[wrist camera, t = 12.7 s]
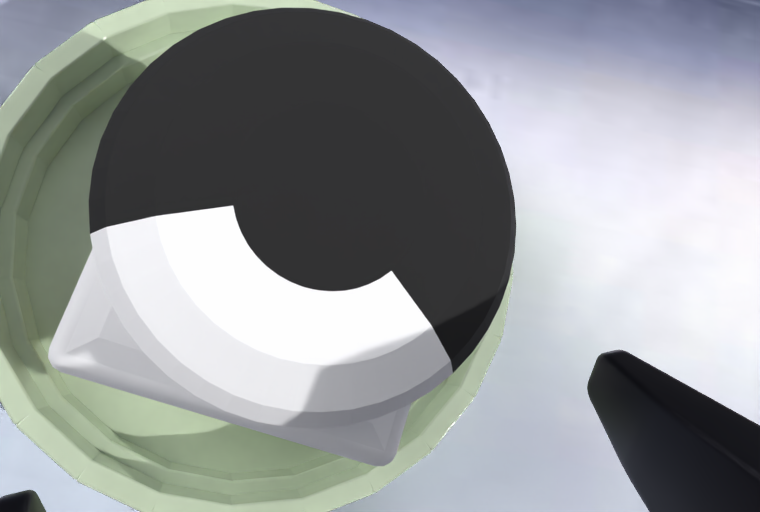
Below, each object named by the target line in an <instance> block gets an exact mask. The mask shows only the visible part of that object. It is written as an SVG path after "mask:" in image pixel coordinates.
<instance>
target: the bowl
mask: <svg viewBox="0 0 760 512" xmlns="http://www.w3.org/2000/svg"><path fill="white" fill-rule="evenodd" d="M274 8H314V9H321V10H328V11H335V12H340V13H344V14H348V15H351V16H355V17H358V18H360V17H359V16H356V15H353V14H351V13H348V12H345V11H343V10H340V9H337V8H334V7H332V6H329V5H326V4H323V3H321V2H318V1H315V0H146V1H143V2H141V3H138V4H135V5H133V6H130V7H128V8H125V9H123V10H120V11H117V12H115V13H112V14H110V15H107V16H105V17H102V18H99V19H97V20H95V21H94V22H91V23H89V24H88V25H87V26H85V27H84V28H83V29H81V30H80V31H79V32H77V33H76V34H75V35H73V36H72V37H70V38H69V39H68V40H66V41H65V42H64V43H62V44H61V45H60V46H58V47H57V48H56V49H54V50H53V51H51V52H50V53H49V54H47V55H46V56H45V57H43V58H42V59H41V60H39V61H38V62H37V63H35V66H32V67H31V69H30V70H29V71H28V72H27V74H26V75H25V76H24V78H23V79H22V80H21V81H20V83H19V84H18V85H17V87H16V88H15V89H14V90H13V92H12V93H11V94H10V96H9V97H8V98H7V100H6V101H5V102H4V103H3V105H2V106H1V107H0V402H1V404H2V405H3V407H4V409H5V410H6V412H7V414H8V415H9V417H10V419H11V420H12V422H13V423H14V424H15V425H16V424H17V425H16V427H17V428H18V429H19V430H20V431H21V432H22V433H23V434H24V435H25V436H27V437H28V438H29V439H30V440H31V441H32V442H33V443H34V444H35V445H37V446H38V447H39V448H40V449H41V450H42V451H43V452H44V453H45V454H47V455H48V456H49V457H50V458H51V459H52V460H53V461H54V462H55V463H57V464H58V465H59V466H60V467H61V468H62V469H63V470H64V471H65V472H67V473H68V474H69V475H70V476H71V477H72V478H73V479H75V480H76V479H77V481H78V482H79V483H81V484H83V485H85V486H87V487H89V488H91V489H93V490H96V491H98V492H100V493H102V494H104V495H106V496H108V497H110V498H112V499H114V500H117V501H119V502H121V503H123V504H125V505H127V506H129V507H131V508H133V509H135V510H138V511H140V512H329V511H332V510H334V509H337V508H339V507H342V506H344V505H347V504H350V503H352V502H355V501H357V500H360V499H362V498H365V497H367V496H370V495H372V494H373V493H376V492H378V491H379V490H381V489H382V488H383V487H385V486H386V485H387V484H389V483H390V482H391V481H393V480H394V479H396V478H397V477H398V476H400V475H401V474H402V473H404V472H405V471H406V470H408V469H409V468H410V467H412V466H413V465H415V464H416V463H417V462H419V461H420V460H421V459H423V458H424V457H425V456H427V455H428V454H429V453H431V450H433V449H434V448H435V447H436V446H437V444H438V443H439V442H440V441H441V439H442V438H443V437H444V436H445V435H446V433H447V432H448V431H449V430H450V428H451V427H452V426H453V425H454V423H455V422H456V421H457V420H458V418H459V417H460V416H461V415H462V414H463V412H464V411H465V410H466V409H467V407H468V406H469V405H470V404H471V402H472V401H473V399H474V397H475V396H476V394H477V392H478V390H479V388H480V386H481V383H482V381H483V379H484V377H485V375H486V372H487V370H488V368H489V366H490V364H491V361H492V359H493V357H494V355H495V353H496V350H497V348H498V346H499V344H500V342H501V338H502V335H503V330H504V324H505V319H506V313H507V308H508V302H509V297H510V291H511V286H512V280H513V276H512V275H513V263H512V268H511V273H510V278H509V282H508V284H507V287H506V290H505V293H504V296H503V299H502V302H501V305H500V307H499V309H498V311H497V313H496V315H495V317H494V319H493V321H492V323H491V325H490V327H489V329H488V331H487V332H486V333H485V335H484V336H483V338H482V339H481V341H480V342H479V344H478V345H477V346H476V348H475V349H474V351H473V352H472V353H471V354H470V356H469V357H468V358H467V359H466V360H465V361H464V362H463V363H462V364H461V365H460V366H459V367H458V369H457V370H456V371H455V372H454V373H453V374H452V375H450V376H449V377H448V378H447V379H445V380H444V381H443V382H442V383H441V384H439V385H438V386H437V387H436V388H434V389H433V390H432V391H431V392H429V393H427V394H426V395H424V396H422V397H421V398H419V399H417V400H416V401H414V402H412V403H411V406H410V409H409V413H408V416H407V419H406V423H405V426H404V430H403V433H402V436H401V440H400V443H399V447H398V450H397V453H396V455H395V457H394V459H393V461H392V462H390V463H388V464H387V465H385V466H372V465H369V464H366V463H362V462H359V461H356V460H352V459H349V458H346V457H342V456H339V455H336V454H332V453H329V452H326V451H322V450H319V449H316V448H312V447H309V446H306V445H302V444H299V443H296V442H292V441H289V440H286V439H282V438H279V437H275V436H272V435H269V434H265V433H262V432H259V431H255V430H252V429H249V428H245V427H242V426H239V425H235V424H232V423H229V422H225V421H222V420H219V419H215V418H212V417H209V416H205V415H202V414H199V413H195V412H192V411H189V410H185V409H182V408H179V407H175V406H172V405H169V404H165V403H162V402H159V401H155V400H152V399H149V398H145V397H142V396H139V395H135V394H132V393H129V392H125V391H122V390H119V389H115V388H112V387H109V386H105V385H102V384H99V383H95V382H92V381H89V380H85V379H82V378H79V377H75V376H72V375H69V374H65V373H62V372H60V371H58V370H57V369H55V368H54V367H52V365H51V363H50V361H49V359H48V353H49V347H50V344H51V342H52V340H53V338H54V335H55V333H56V331H57V328H58V326H59V324H60V322H61V319H62V317H63V315H64V312H65V310H66V308H67V306H68V303H69V301H70V299H71V296H72V294H73V292H74V290H75V287H76V285H77V283H78V280H79V278H80V276H81V274H82V271H83V269H84V267H85V264H86V262H87V260H88V258H89V255H90V253H91V251H92V248H93V247H92V242H91V237H90V225H89V193H90V185H91V176H92V169H93V165H94V162H95V158H96V154H97V151H98V147H99V144H100V140H101V138H102V135H103V133H104V131H105V129H106V127H107V124H108V122H109V120H110V118H111V116H112V113H113V111H114V110H115V108H116V107H117V105H118V104H119V102H120V101H121V99H122V98H123V96H124V95H125V93H126V92H127V90H128V88H129V87H130V86H131V84H132V83H133V82H134V81H135V80H136V79H137V78H138V77H139V76H140V74H141V73H142V72H143V71H144V70H145V69H146V68H147V67H148V66H149V65H150V63H152V62H153V61H154V60H155V59H157V58H158V57H159V56H160V55H161V54H163V53H164V52H165V51H166V50H168V49H169V48H170V47H171V46H172V45H174V44H175V43H177V42H179V41H180V40H182V39H184V38H185V37H187V36H189V35H190V34H192V33H194V32H195V31H197V30H199V29H201V28H204V27H206V26H208V25H211V24H213V23H216V22H218V21H220V20H223V19H225V18H229V17H232V16H236V15H240V14H244V13H248V12H252V11H257V10H266V9H274ZM362 19H363V18H362Z"/></svg>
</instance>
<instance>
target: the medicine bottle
mask: <svg viewBox="0 0 760 512" xmlns="http://www.w3.org/2000/svg"><path fill="white" fill-rule="evenodd" d="M89 225H90V237H91V242H92V247H93V248H92V251H91V253H90V255H89V258H88V260H87V262H86V264H85V267H84V269H83V271H82V274H81V276H80V278H79V280H78V283H77V285H76V287H75V290H74V292H73V294H72V296H71V299H70V301H69V303H68V306H67V308H66V310H65V312H64V315H63V317H62V319H61V322H60V324H59V326H58V328H57V331H56V333H55V335H54V338H53V340H52V342H51V344H50V347H49V353H48V359H49V361H50V363H51V365H52V367H54V368H55V369H57V370H58V371H60V372H62V373H65V374H69V375H72V376H75V377H79V378H82V379H85V380H89V381H92V382H95V383H99V384H102V385H105V386H109V387H112V388H115V389H119V390H122V391H125V392H129V393H132V394H135V395H139V396H142V397H145V398H149V399H152V400H155V401H159V402H162V403H165V404H169V405H172V406H175V407H179V408H182V409H185V410H189V411H192V412H195V413H199V414H202V415H205V416H209V417H212V418H215V419H219V420H222V421H225V422H229V423H232V424H235V425H239V426H242V427H245V428H249V429H252V430H255V431H259V432H262V433H265V434H269V435H272V436H275V437H279V438H282V439H286V440H289V441H292V442H296V443H299V444H302V445H306V446H309V447H312V448H316V449H319V450H322V451H326V452H329V453H332V454H336V455H339V456H342V457H346V458H349V459H352V460H356V461H359V462H362V463H366V464H369V465H372V466H385V465H387V464H388V463H390V462H392V461H393V459H394V457H395V455H396V453H397V450H398V447H399V443H400V440H401V436H402V433H403V430H404V426H405V423H406V419H407V416H408V413H409V409H410V406H411V403H412V402H414V401H416V400H417V399H419V398H421V397H422V396H424V395H426V394H427V393H429V392H431V391H432V390H433V389H434V388H436V387H437V386H438V385H439V384H441V383H442V382H443V381H444V380H445V379H447V378H448V377H449V376H450V375H452V374H453V373H454V372H455V371H456V370H457V369H458V367H459V366H460V365H461V364H462V363H463V362H464V361H465V360H466V359H467V358H468V357H469V356H470V354H471V353H472V352H473V351H474V349H475V348H476V346H477V345H478V344H479V342H480V341H481V339H482V338H483V336H484V335H485V333H486V332H487V331H488V329H489V327H490V325H491V323H492V321H493V319H494V317H495V315H496V313H497V311H498V309H499V307H500V305H501V302H502V299H503V296H504V293H505V290H506V287H507V284H508V282H509V278H510V273H511V268H512V263H513V258H514V251H515V236H516V218H515V202H514V195H513V190H512V185H511V180H510V175H509V171H508V168H507V165H506V162H505V159H504V156H503V153H502V150H501V147H500V145H499V143H498V141H497V139H496V137H495V135H494V132H493V130H492V128H491V126H490V124H489V122H488V121H487V119H486V118H485V116H484V114H483V113H482V111H481V110H480V108H479V107H478V105H477V103H476V102H475V100H474V99H473V98H472V97H471V95H470V94H469V93H468V92H467V91H466V89H465V88H464V87H463V86H462V84H461V83H460V82H459V81H458V80H457V79H456V78H455V77H454V76H453V75H452V74H451V73H450V72H449V71H448V70H447V69H446V68H445V67H444V66H443V65H442V64H441V63H440V62H439V61H438V60H436V59H435V58H434V57H432V56H431V55H430V54H428V53H427V52H426V51H424V50H423V49H422V48H420V47H419V46H418V45H416V44H415V43H413V42H411V41H409V40H408V39H406V38H404V37H402V36H401V35H399V34H397V33H395V32H394V31H392V30H390V29H387V28H385V27H382V26H380V25H378V24H375V23H373V22H370V21H368V20H366V19H362V18H358V17H355V16H351V15H348V14H344V13H340V12H335V11H328V10H321V9H314V8H274V9H266V10H257V11H252V12H248V13H244V14H240V15H236V16H232V17H229V18H225V19H223V20H220V21H218V22H216V23H213V24H211V25H208V26H206V27H204V28H201V29H199V30H197V31H195V32H194V33H192V34H190V35H189V36H187V37H185V38H184V39H182V40H180V41H179V42H177V43H175V44H174V45H172V46H171V47H170V48H169V49H168V50H166V51H165V52H164V53H163V54H161V55H160V56H159V57H158V58H157V59H155V60H154V61H153V62H152V63H150V65H149V66H148V67H147V68H146V69H145V70H144V71H143V72H142V73H141V74H140V76H139V77H138V78H137V79H136V80H135V81H134V82H133V83H132V84H131V86H130V87H129V88H128V90H127V92H126V93H125V95H124V96H123V98H122V99H121V101H120V102H119V104H118V105H117V107H116V108H115V110H114V111H113V113H112V116H111V118H110V120H109V122H108V124H107V127H106V129H105V131H104V133H103V135H102V138H101V140H100V144H99V147H98V151H97V154H96V158H95V162H94V165H93V169H92V176H91V185H90V193H89Z"/></svg>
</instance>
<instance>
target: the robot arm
mask: <svg viewBox="0 0 760 512" xmlns="http://www.w3.org/2000/svg"><path fill="white" fill-rule="evenodd" d="M587 389H588V394H589V398H590V400H591V402H592V404H593V406H594V408H595V410H596V412H597V414H598V416H599V418H600V421H601V423H602V425H603V427H604V429H605V431H606V433H607V435H608V437H609V439H610V441H611V443H612V445H613V447H614V449H615V451H616V454H617V456H618V458H619V460H620V462H621V464H622V466H623V467H624V469H625V471H626V473H627V475H628V477H629V478H630V480H631V482H632V484H633V485H634V487H635V489H636V490H637V492H638V494H639V495H640V497H641V499H642V500H643V502H644V503H645V505H646V507H647V508H648V510H649V512H760V425H758V424H756V423H754V422H752V421H751V420H749V419H747V418H745V417H743V416H742V415H740V414H738V413H736V412H734V411H733V410H731V409H729V408H727V407H725V406H724V405H722V404H720V403H718V402H716V401H715V400H713V399H711V398H709V397H707V396H706V395H704V394H702V393H700V392H698V391H697V390H695V389H693V388H691V387H689V386H688V385H686V384H684V383H682V382H680V381H679V380H677V379H675V378H673V377H671V376H670V375H668V374H666V373H664V372H662V371H661V370H659V369H657V368H655V367H653V366H652V365H650V364H648V363H646V362H644V361H643V360H641V359H639V358H637V357H635V356H634V355H632V354H630V353H628V352H626V351H623V350H614V351H610V352H606V353H602V354H601V355H599V356H598V358H597V360H596V363H595V365H594V368H593V371H592V373H591V376H590V379H589V381H588V386H587ZM0 512H46V510H45V508H44V507H43V505H42V503H41V501H40V499H39V497H38V495H37V494H36V492H34V491H32V490H26V491H22V492H18V493H14V494H9V495H5V496H3V497H1V498H0Z"/></svg>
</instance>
